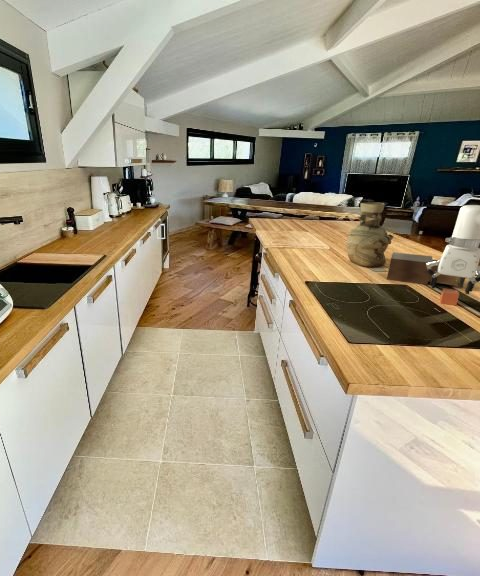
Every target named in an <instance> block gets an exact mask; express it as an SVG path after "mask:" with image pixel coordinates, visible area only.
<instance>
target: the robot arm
mask: <svg viewBox="0 0 480 576" xmlns="http://www.w3.org/2000/svg"><path fill="white" fill-rule="evenodd" d="M444 242H445V243H448V244H447V245H446V246H445V248H444V249H443V252H442V254H441V256H440V259H438V260H439V261H435V262H431V263H427V264H426V267H427V270H428V272H429V274H430V275H431V276H432V279H431V282H429V285H430V286H431V289H433V290H434V289H435V287H436V284H437V283H436V282H437V276H439V275H440V274H443V275H448V276H455V277H463V278H465V279H469V280H468V282H467V284H466V287H465V290H464V293H465V294H466V295H469V294H470V293H472V292H473V291H474V287H475V284H477V283H479V282H480V276H478V277H477V276H475V274H476V271H477V270H478V271H479V272H480V265H479V263H480V247H479V246H480V205H479V204H466V205H463V206H461V207H460V208H459V211H458V214H457V218H456V221H455V225H454V229H453V232H452V235H451V236H450V237H446V238H445V240H444ZM436 265H438V270H437V271H435V272H434V271H433V270H432V269H431V267H432V266H436Z"/></svg>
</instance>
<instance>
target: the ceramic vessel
mask: <svg viewBox="0 0 480 576" xmlns="http://www.w3.org/2000/svg"><path fill="white" fill-rule="evenodd" d="M384 208H385V203H384V202H360V212H361V213H360V216H359V219H358V220H359V225H356V226H355V227H353V228H352V229H351V230H350V231H349V233H348V236H347V239H346V253H347V258H348V259H349V261H350V262H351V263H352V264H355V265H358V266H360V267H364V268H374V267H381V266H382V267H383V266H384V265H385V264H386V263H387V259H386V255H385V252H386V250H388V247H389V245H391V244H392V240H393V239H394V235H392V234H388V232H387V230H386V229H385V228H384V227H382V226H381V222H382V213H383V212H384Z"/></svg>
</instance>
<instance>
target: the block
mask: <svg viewBox="0 0 480 576" xmlns="http://www.w3.org/2000/svg"><path fill="white" fill-rule="evenodd" d="M459 297H460V292H459V290H458V289H452V288H444V287H443V288H442V289H441V294H440V298H439V303H440V304H445V305H449V306H456V307H457V303H458V300H459Z"/></svg>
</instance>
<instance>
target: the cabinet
mask: <svg viewBox="0 0 480 576" xmlns="http://www.w3.org/2000/svg"><path fill="white" fill-rule="evenodd" d="M432 259H433V256H432V255H423V254H414V253H406V252H405V253H403V252H395V251H394V252H392V254H391V257H390V262H389V266H388V271H387V275H386V281H387V280H388V281H395V282H402V283H409V284H416V285H421V286H422V285H423V286H428V285H429V282H428V281H429V277H430V274H429V272H428V270H427V267H426V264H427V263H431V262H433V260H434V259H433V260H432ZM431 269H432V267H431Z"/></svg>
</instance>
